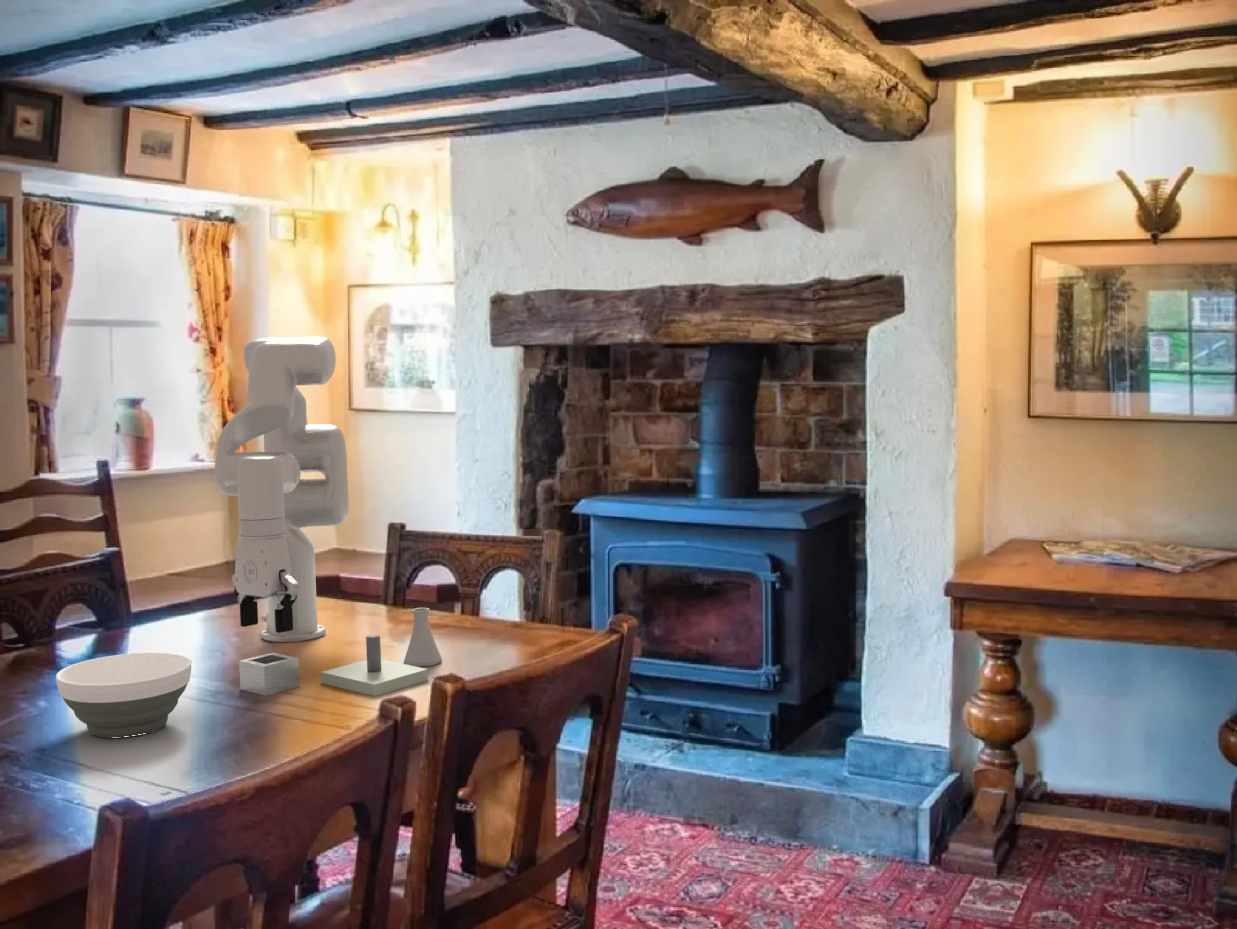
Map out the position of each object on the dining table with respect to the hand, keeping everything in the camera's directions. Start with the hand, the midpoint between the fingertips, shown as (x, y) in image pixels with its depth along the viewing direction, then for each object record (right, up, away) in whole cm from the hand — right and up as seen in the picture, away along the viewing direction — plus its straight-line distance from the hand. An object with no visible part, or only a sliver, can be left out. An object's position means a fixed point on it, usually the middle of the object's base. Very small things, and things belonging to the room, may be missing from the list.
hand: (266, 628), depth 218 cm
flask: (+24, -9, +17) cm, 31 cm away
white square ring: (0, -10, +2) cm, 11 cm away
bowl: (-16, -13, -20) cm, 29 cm away
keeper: (+18, -10, +4) cm, 21 cm away
